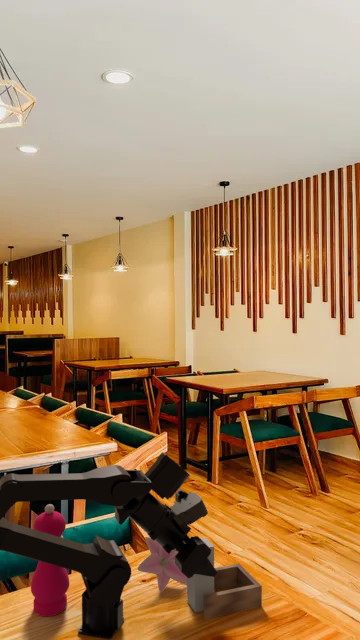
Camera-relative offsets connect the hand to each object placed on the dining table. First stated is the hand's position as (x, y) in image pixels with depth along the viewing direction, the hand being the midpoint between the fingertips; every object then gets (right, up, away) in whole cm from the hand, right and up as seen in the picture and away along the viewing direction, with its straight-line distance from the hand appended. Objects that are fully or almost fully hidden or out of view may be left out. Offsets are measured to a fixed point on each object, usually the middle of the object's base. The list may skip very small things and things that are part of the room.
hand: (207, 564), depth 102 cm
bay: (+3, -8, +1) cm, 8 cm away
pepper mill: (-30, -8, -1) cm, 31 cm away
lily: (-8, -8, +8) cm, 14 cm away
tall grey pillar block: (-1, -8, 0) cm, 8 cm away
